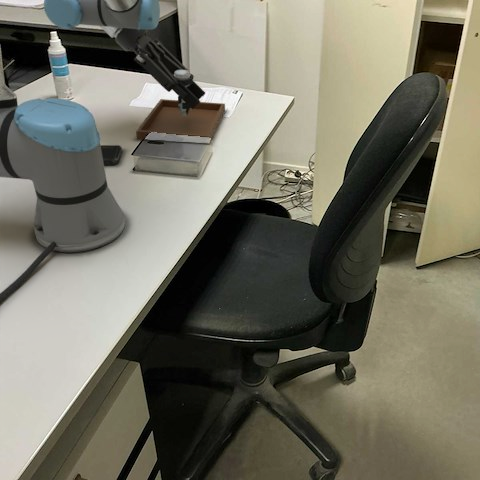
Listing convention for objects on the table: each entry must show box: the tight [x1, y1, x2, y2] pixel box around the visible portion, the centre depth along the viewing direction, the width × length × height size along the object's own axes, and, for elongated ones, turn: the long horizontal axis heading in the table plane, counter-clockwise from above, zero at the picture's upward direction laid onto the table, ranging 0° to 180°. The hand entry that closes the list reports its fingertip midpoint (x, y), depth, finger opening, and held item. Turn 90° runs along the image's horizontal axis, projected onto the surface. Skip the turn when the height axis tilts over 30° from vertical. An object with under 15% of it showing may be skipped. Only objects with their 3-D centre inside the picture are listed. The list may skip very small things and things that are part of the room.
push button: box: [172, 70, 194, 116], centre depth 136 cm, size 7×5×10 cm
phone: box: [100, 144, 123, 166], centre depth 124 cm, size 8×1×15 cm
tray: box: [136, 98, 226, 141], centre depth 142 cm, size 22×18×2 cm
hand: (199, 100), depth 138 cm, fingers closed on push button, 5 cm apart
